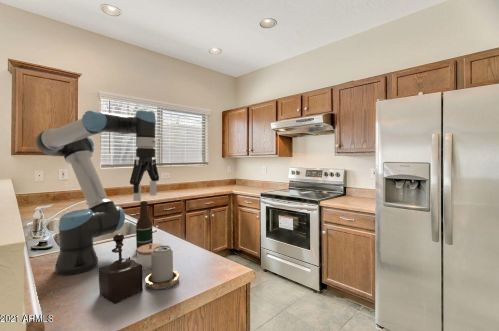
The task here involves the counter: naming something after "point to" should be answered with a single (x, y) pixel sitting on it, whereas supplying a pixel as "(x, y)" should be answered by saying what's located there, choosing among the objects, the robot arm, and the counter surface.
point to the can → (162, 264)
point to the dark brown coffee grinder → (120, 276)
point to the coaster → (161, 286)
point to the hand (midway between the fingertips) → (145, 198)
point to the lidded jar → (146, 254)
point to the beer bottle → (144, 227)
